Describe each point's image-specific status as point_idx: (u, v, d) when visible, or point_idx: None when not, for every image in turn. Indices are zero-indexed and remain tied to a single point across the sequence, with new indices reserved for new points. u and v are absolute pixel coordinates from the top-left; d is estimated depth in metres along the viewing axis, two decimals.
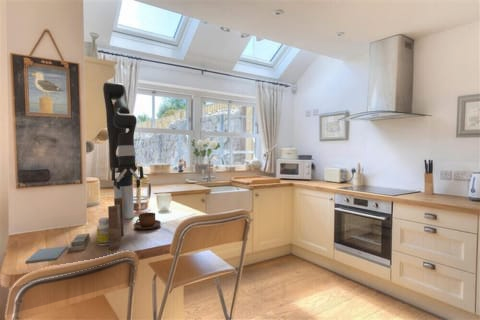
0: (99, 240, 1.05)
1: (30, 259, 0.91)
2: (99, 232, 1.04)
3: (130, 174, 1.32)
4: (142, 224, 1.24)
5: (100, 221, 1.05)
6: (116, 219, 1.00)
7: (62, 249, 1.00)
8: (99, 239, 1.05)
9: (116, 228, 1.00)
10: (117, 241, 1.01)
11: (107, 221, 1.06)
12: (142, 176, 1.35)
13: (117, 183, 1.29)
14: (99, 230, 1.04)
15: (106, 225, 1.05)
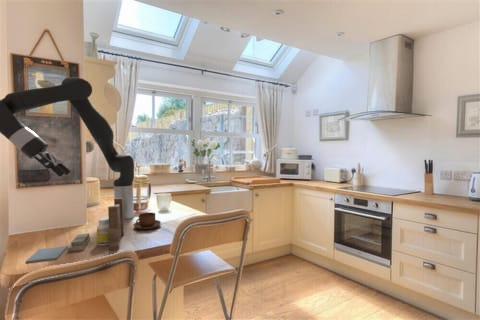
0: (99, 240, 1.05)
1: (30, 259, 0.91)
2: (99, 232, 1.04)
3: None
4: (142, 224, 1.24)
5: (100, 221, 1.05)
6: (116, 219, 1.00)
7: (62, 249, 1.00)
8: (99, 239, 1.05)
9: (116, 228, 1.00)
10: (117, 241, 1.01)
11: (107, 221, 1.06)
12: None
13: None
14: (99, 230, 1.04)
15: (106, 225, 1.05)
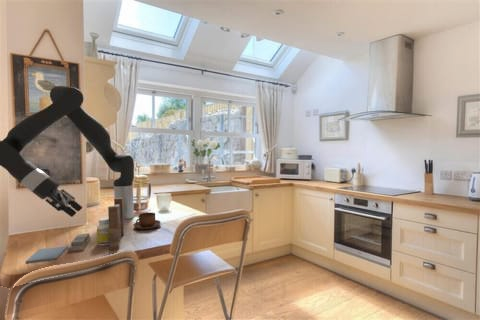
0: (99, 240, 1.05)
1: (30, 259, 0.91)
2: (99, 232, 1.04)
3: None
4: (142, 224, 1.24)
5: (100, 221, 1.05)
6: (116, 219, 1.00)
7: (62, 249, 1.00)
8: (99, 239, 1.05)
9: (116, 228, 1.00)
10: (117, 241, 1.01)
11: (107, 221, 1.06)
12: None
13: None
14: (99, 230, 1.04)
15: (106, 225, 1.05)
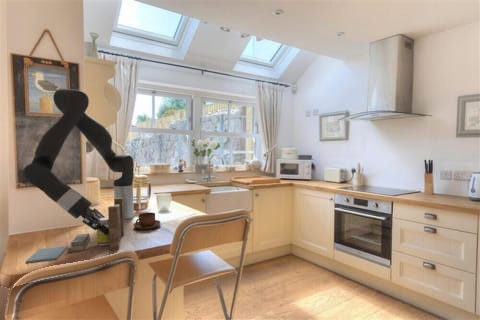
0: (99, 240, 1.05)
1: (30, 259, 0.91)
2: (99, 232, 1.04)
3: None
4: (142, 224, 1.24)
5: (100, 221, 1.05)
6: (116, 219, 1.00)
7: (62, 249, 1.00)
8: (99, 239, 1.05)
9: (116, 228, 1.00)
10: (117, 241, 1.01)
11: (107, 221, 1.06)
12: None
13: None
14: (99, 230, 1.04)
15: (106, 225, 1.05)
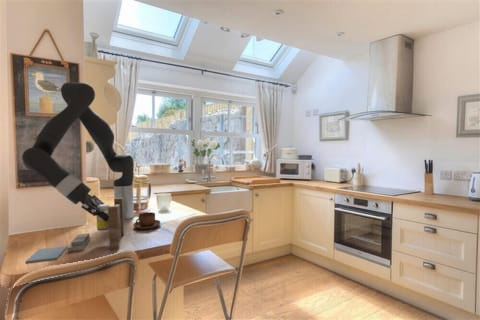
0: (99, 226, 1.05)
1: (30, 259, 0.91)
2: (98, 218, 1.04)
3: None
4: (142, 224, 1.24)
5: (99, 207, 1.05)
6: (116, 219, 1.00)
7: (62, 249, 1.00)
8: (98, 225, 1.05)
9: (116, 228, 1.00)
10: (117, 241, 1.01)
11: (106, 207, 1.06)
12: None
13: None
14: (98, 216, 1.04)
15: (105, 211, 1.05)
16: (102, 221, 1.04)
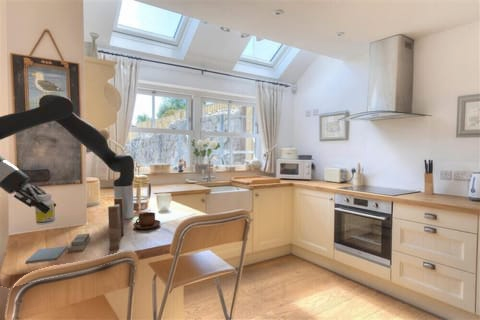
0: (37, 218, 0.93)
1: (30, 259, 0.91)
2: (36, 210, 0.93)
3: None
4: (142, 224, 1.24)
5: (38, 197, 0.93)
6: (116, 219, 1.00)
7: (62, 249, 1.00)
8: (37, 218, 0.93)
9: (116, 228, 1.00)
10: (117, 241, 1.01)
11: (47, 198, 0.94)
12: None
13: None
14: None
15: (45, 202, 0.94)
16: (41, 213, 0.93)
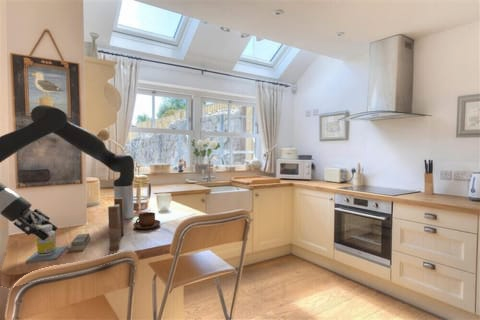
0: (39, 250, 0.94)
1: (30, 259, 0.91)
2: (38, 241, 0.94)
3: None
4: (142, 224, 1.25)
5: None
6: (116, 219, 1.00)
7: (62, 249, 1.00)
8: (38, 249, 0.94)
9: (116, 228, 1.00)
10: (117, 241, 1.01)
11: (48, 229, 0.95)
12: None
13: None
14: (38, 239, 0.93)
15: None
16: (42, 244, 0.93)
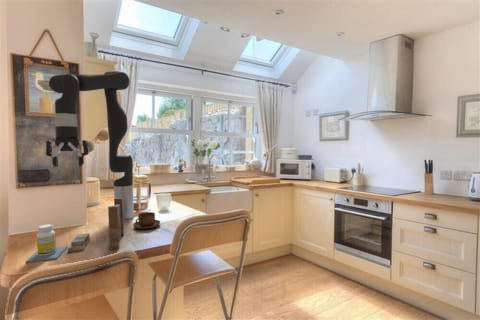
0: (39, 250, 0.94)
1: (30, 259, 0.91)
2: (38, 241, 0.94)
3: (69, 149, 1.09)
4: (142, 224, 1.25)
5: (40, 229, 0.94)
6: (116, 219, 1.00)
7: (62, 249, 1.00)
8: (38, 249, 0.94)
9: (116, 228, 1.00)
10: (117, 241, 1.01)
11: (48, 229, 0.95)
12: (85, 152, 1.10)
13: (53, 159, 1.07)
14: (38, 239, 0.93)
15: (47, 233, 0.94)
16: (42, 244, 0.94)
